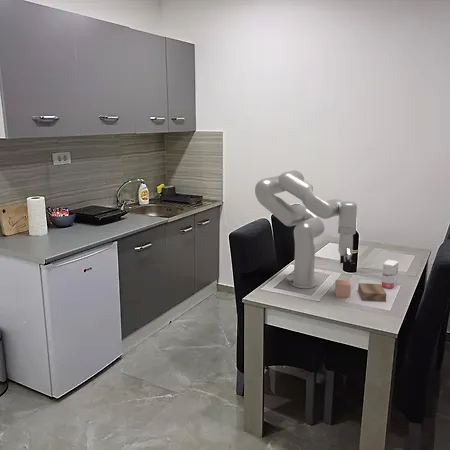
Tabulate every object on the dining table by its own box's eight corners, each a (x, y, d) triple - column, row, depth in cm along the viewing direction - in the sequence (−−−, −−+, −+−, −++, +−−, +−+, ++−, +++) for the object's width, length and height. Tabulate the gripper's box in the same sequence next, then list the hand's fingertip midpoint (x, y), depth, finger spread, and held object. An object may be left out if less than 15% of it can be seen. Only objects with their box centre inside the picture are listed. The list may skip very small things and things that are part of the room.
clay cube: (336, 296, 201) (337, 284, 199) (334, 291, 206) (335, 279, 205) (349, 297, 200) (350, 285, 199) (347, 292, 206) (348, 280, 204)
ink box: (391, 289, 209) (393, 265, 206) (380, 287, 212) (382, 263, 209) (397, 284, 216) (399, 261, 213) (386, 281, 219) (388, 259, 216)
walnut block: (362, 301, 197) (362, 292, 196) (357, 291, 208) (358, 283, 207) (385, 302, 195) (386, 294, 194) (379, 292, 207) (380, 284, 206)
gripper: (335, 225, 205) (334, 260, 208) (340, 234, 188) (339, 272, 192) (352, 225, 204) (350, 260, 208) (359, 234, 187) (357, 273, 191)
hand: (345, 266), depth 200 cm, fingers open, 9 cm apart
